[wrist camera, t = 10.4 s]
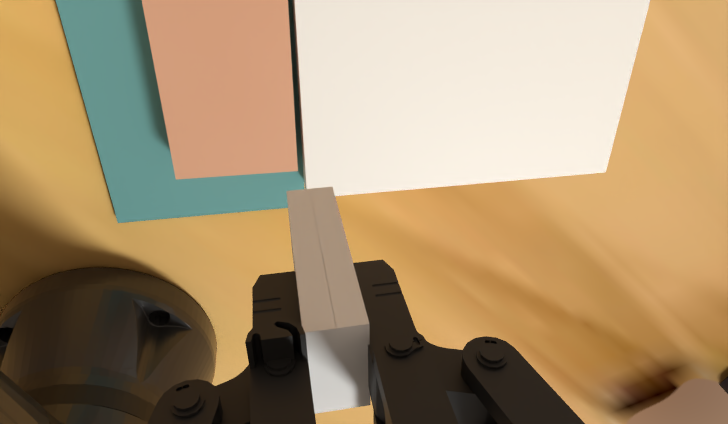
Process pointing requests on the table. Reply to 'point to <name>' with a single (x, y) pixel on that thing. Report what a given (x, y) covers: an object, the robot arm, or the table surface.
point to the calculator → (724, 384)
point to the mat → (152, 121)
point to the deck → (459, 89)
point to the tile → (224, 85)
